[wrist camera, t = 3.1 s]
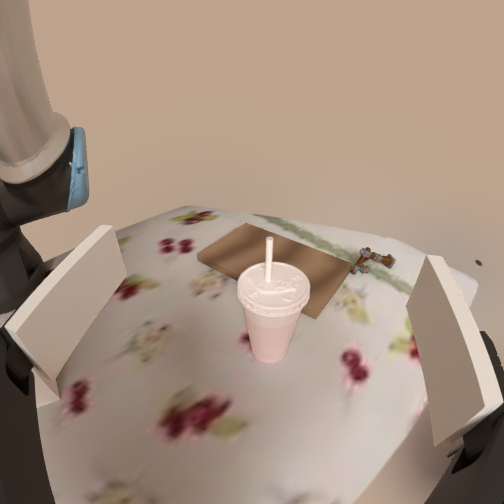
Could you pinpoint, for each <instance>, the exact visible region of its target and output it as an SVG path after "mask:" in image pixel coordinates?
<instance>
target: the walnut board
mask: <svg viewBox="0 0 504 504" xmlns="http://www.w3.org/2000/svg"><path fill="white" fill-rule="evenodd" d="M267 237H273V256H272V262H281V263H286V264H289V265H292V266H294V267H296V268H298V269H299V270H301V271H302V272H303V273H304V274H305V275H306V276H307V278H308V280H309V282H310V297H309V300H308V302H307V304H306V305H305V306H304V307H303V308H302V310H301V312H302V313H304V314H306V315H308V316H310V317H312V318H314V319H316V318H317V317H318V315H319V314H320V313H321V311H322V310H323V309H324V307H325V306H326V305H327V303H328V302H329V300H330V299H331V298H332V296H333V295H334V294H335V292H336V291H337V289H338V288H339V287H340V285H341V284H342V282H343V281H344V280H345V278H346V277H347V275H348V274H349V272H350V271H351V268H352V263H349V262H347V261H344V260H342V259H339V258H337V257H334V256H332V255H329V254H327V253H324V252H321V251H319V250H316V249H314V248H311V247H308V246H306V245H303V244H301V243H298V242H295V241H293V240H290V239H287V238H285V237H282V236H280V235H277V234H274V233H272V232H269V231H266V230H264V229H261V228H258V227H255V226H253V225H250V224H247V223H245V224H244V225H242V226H241V227H239V228H237V229H236V230H234V231H233V232H231V233H229V234H228V235H226V236H225V237H223V238H221V239H220V240H218V241H217V242H215V243H213V244H212V245H210V246H209V247H207V248H206V249H204V250H202V251H201V252H199V253H198V254H197V258H198V261H200V262H202V263H204V264H206V265H208V266H210V267H211V268H213V269H215V270H217V271H219V272H221V273H223V274H225V275H227V276H229V277H231V278H233V279H235V280H237V281H238V279H239V277H240V275H241V274H242V273H243V272H244V271H245V270H246V269H247V268H249V267H251V266H253V265H255V264H259V263H263V262H265V260H266V238H267Z"/></svg>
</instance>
